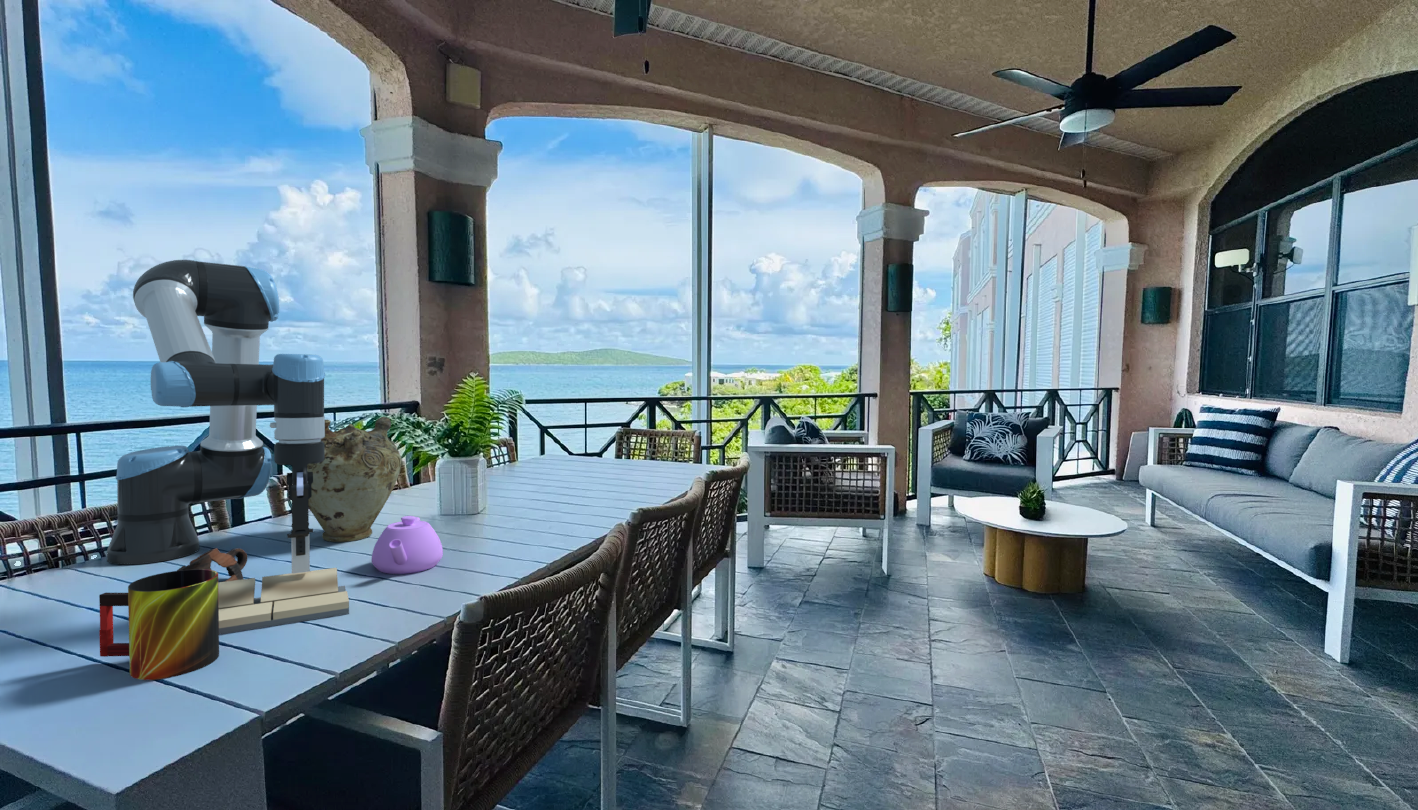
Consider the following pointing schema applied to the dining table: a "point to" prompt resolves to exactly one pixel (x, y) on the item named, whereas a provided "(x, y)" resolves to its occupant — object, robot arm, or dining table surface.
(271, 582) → the plank far
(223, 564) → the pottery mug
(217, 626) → the mug
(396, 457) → the vase
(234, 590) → the plank near
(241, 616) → the floor panel
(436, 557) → the teapot
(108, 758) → the dining table surface
